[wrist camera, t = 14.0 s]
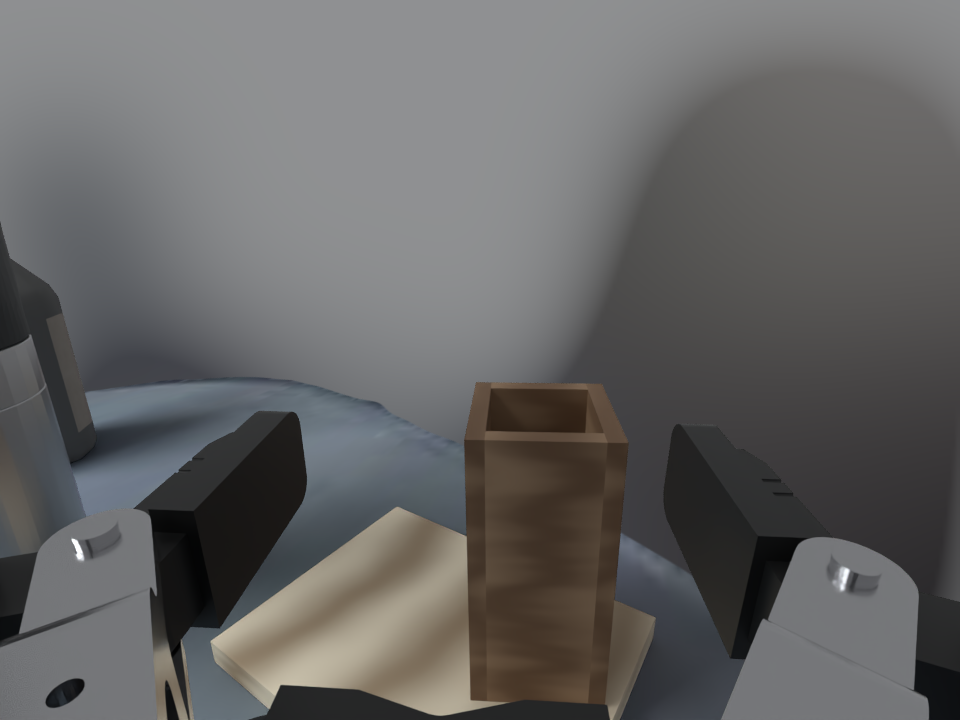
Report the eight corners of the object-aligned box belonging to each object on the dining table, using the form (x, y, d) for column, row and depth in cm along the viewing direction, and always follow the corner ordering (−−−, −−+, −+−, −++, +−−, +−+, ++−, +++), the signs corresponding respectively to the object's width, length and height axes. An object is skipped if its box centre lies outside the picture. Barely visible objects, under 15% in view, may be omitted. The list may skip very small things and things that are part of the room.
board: (215, 662, 28) (200, 597, 27) (398, 522, 40) (394, 472, 39) (531, 938, 18) (533, 855, 16) (653, 637, 29) (661, 574, 28)
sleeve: (470, 700, 24) (464, 439, 20) (479, 599, 30) (476, 382, 26) (604, 707, 24) (628, 443, 20) (586, 603, 30) (601, 383, 26)
